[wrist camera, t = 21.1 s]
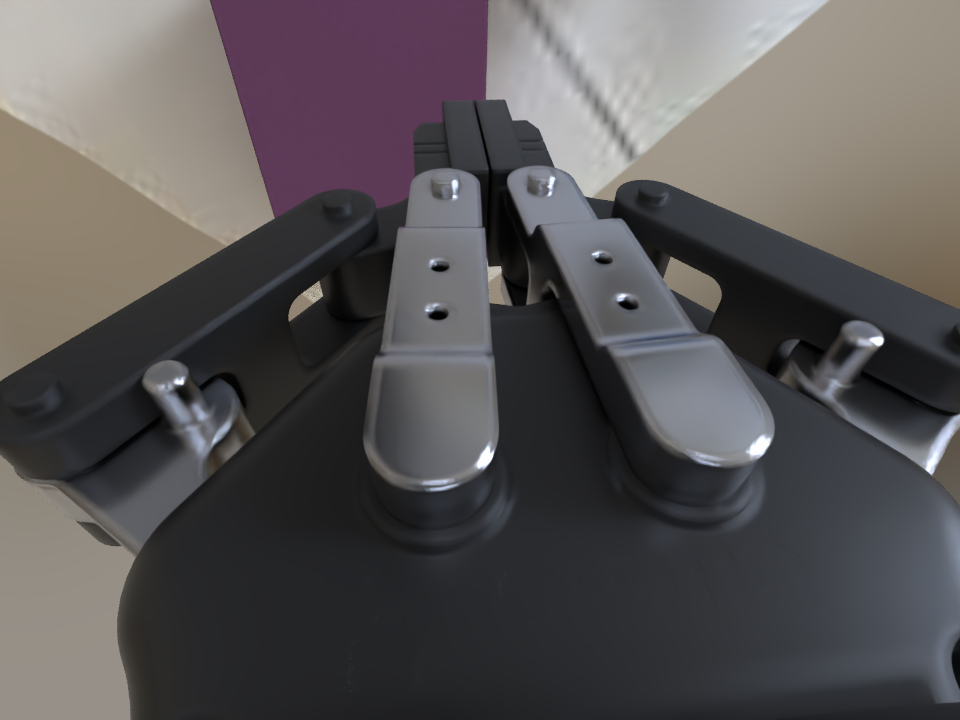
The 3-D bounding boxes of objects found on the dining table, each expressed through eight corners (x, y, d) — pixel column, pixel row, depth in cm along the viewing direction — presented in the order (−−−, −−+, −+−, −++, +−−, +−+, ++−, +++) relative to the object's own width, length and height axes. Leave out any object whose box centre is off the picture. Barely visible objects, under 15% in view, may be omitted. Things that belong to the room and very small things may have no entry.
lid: (208, -24, 24) (203, -19, 23) (487, -24, 25) (489, -20, 24) (290, 258, 35) (288, 266, 34) (480, 250, 36) (481, 257, 36)
